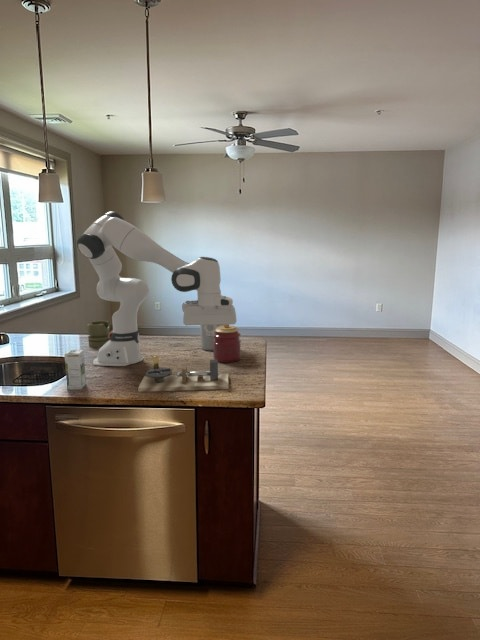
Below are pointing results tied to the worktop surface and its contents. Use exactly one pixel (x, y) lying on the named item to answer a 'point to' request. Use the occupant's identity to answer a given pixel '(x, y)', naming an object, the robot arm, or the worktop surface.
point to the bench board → (176, 384)
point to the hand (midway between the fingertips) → (210, 336)
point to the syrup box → (75, 369)
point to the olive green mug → (98, 333)
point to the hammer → (212, 373)
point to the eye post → (184, 373)
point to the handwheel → (158, 370)
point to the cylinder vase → (207, 338)
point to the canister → (227, 344)
